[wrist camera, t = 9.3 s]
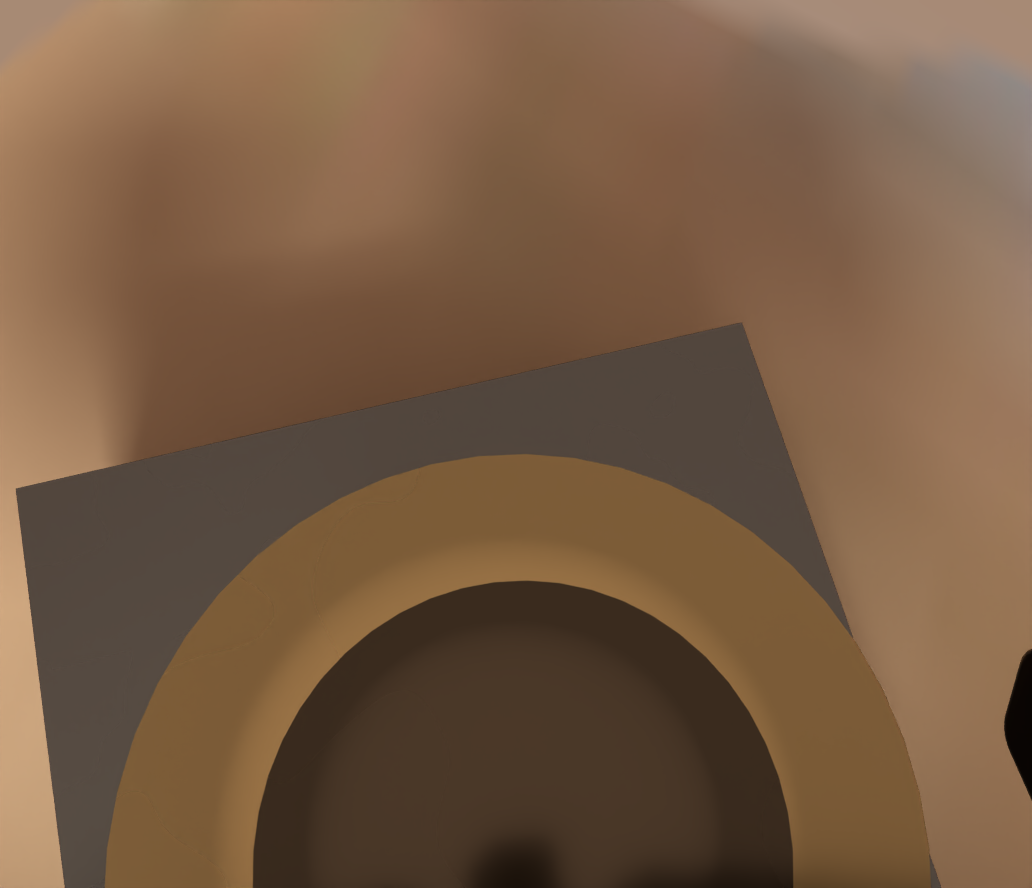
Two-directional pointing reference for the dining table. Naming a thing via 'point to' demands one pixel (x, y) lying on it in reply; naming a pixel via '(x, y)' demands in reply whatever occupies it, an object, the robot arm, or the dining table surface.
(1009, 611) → the dining table surface
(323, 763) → the bushing
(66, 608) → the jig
